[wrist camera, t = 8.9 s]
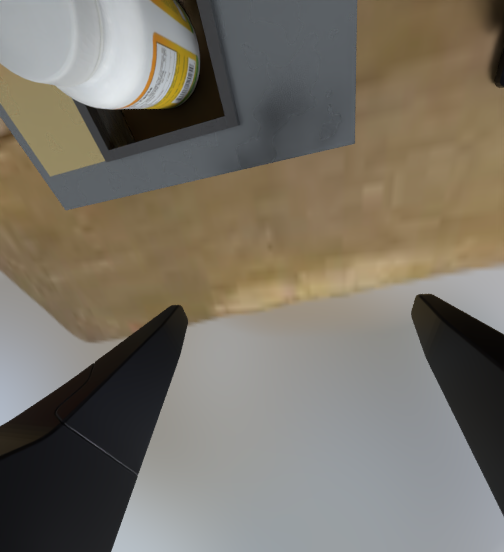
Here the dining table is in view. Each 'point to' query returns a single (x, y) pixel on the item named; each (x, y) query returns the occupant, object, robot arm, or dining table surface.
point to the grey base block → (215, 133)
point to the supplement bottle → (103, 50)
